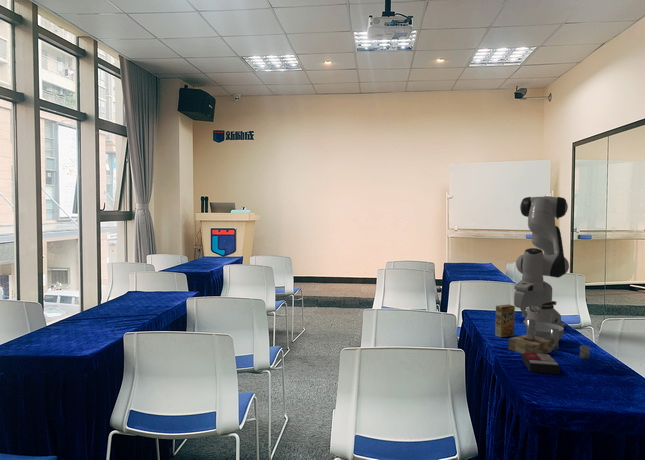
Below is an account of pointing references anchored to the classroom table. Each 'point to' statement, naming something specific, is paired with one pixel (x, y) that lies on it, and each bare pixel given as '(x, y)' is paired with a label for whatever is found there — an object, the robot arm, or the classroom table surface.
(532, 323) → the long pin
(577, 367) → the classroom table surface
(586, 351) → the short pin
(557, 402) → the classroom table surface
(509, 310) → the candy box
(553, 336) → the medium pin
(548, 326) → the cereal bowl
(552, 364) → the calculator
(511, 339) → the block
